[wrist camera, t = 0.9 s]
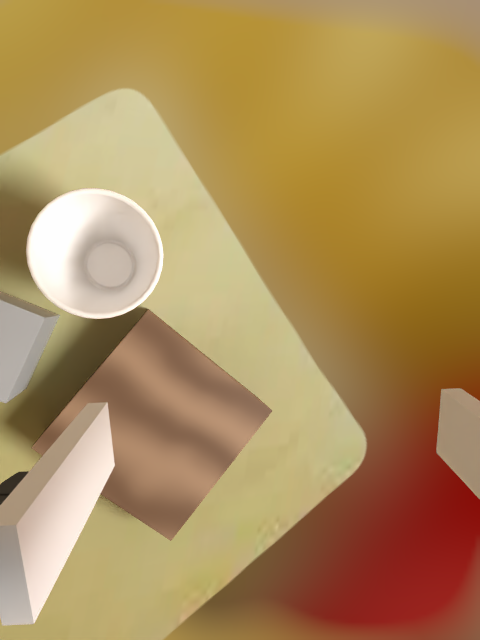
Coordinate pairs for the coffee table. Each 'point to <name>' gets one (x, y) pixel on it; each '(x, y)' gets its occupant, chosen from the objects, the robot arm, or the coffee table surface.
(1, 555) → the robot arm
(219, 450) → the walnut block
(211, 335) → the coffee table surface
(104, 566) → the coffee table surface
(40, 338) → the grey block
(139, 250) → the cup
